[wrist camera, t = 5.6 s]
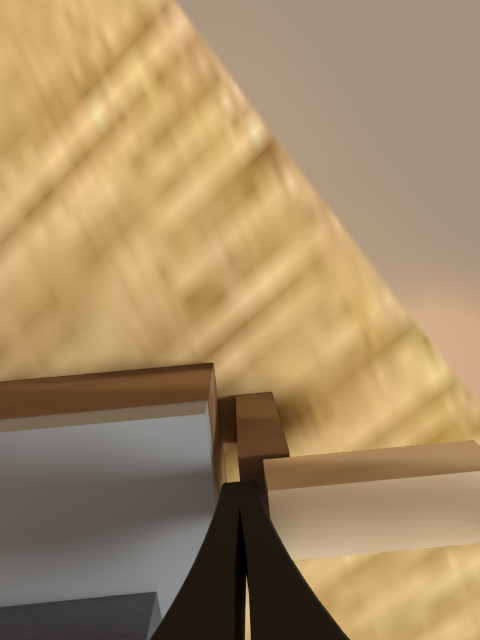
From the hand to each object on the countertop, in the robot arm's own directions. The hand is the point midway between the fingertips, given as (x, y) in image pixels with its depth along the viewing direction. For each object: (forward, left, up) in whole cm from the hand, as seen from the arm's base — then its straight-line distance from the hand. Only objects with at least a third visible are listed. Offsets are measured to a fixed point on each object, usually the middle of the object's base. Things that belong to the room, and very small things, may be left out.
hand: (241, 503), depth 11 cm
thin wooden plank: (0, -5, 0) cm, 5 cm away
